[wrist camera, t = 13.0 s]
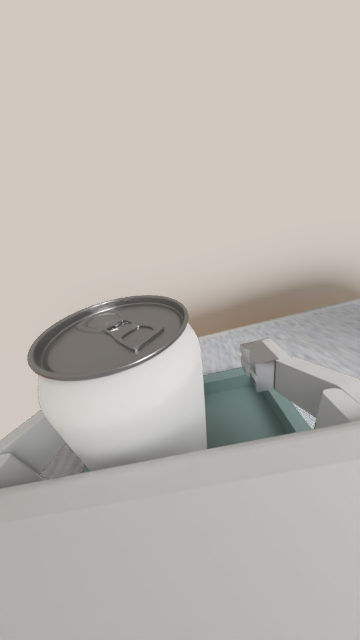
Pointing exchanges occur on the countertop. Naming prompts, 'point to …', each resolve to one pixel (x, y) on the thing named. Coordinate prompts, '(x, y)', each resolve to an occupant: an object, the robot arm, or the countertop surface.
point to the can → (123, 381)
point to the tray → (244, 411)
